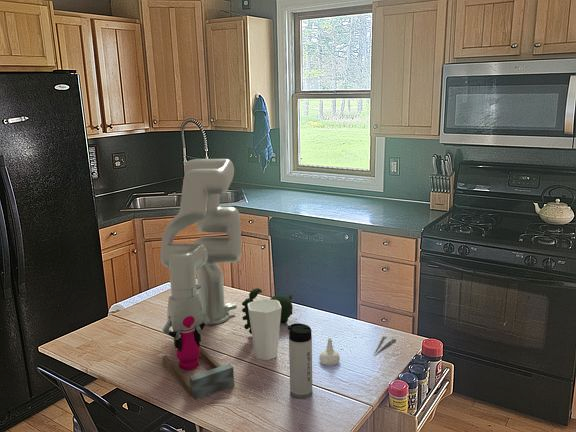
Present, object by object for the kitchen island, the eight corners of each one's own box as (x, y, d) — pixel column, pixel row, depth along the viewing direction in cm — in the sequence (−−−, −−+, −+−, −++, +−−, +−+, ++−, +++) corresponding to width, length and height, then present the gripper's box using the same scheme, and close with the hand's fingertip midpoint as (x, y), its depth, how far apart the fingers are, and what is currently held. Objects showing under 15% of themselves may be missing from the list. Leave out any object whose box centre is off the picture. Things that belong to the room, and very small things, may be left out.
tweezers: (383, 338, 175) (383, 332, 174) (396, 341, 172) (396, 336, 172) (362, 363, 161) (362, 358, 160) (376, 367, 158) (376, 361, 158)
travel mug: (288, 386, 146) (286, 321, 141) (310, 385, 146) (310, 320, 142) (289, 399, 139) (288, 331, 135) (313, 397, 140) (313, 330, 135)
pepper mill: (195, 372, 154) (191, 311, 150) (173, 370, 156) (168, 309, 151) (204, 360, 161) (200, 301, 157) (182, 358, 163) (178, 300, 158)
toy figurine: (260, 349, 171) (303, 317, 189) (254, 298, 165) (300, 270, 184) (239, 342, 177) (283, 311, 195) (233, 292, 171) (279, 266, 190)
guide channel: (199, 352, 166) (198, 335, 165) (234, 385, 147) (233, 367, 145) (163, 363, 160) (161, 345, 159) (193, 400, 140) (192, 380, 139)
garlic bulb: (325, 370, 155) (327, 347, 153) (315, 359, 160) (316, 337, 158) (343, 364, 158) (344, 342, 156) (332, 354, 163) (333, 332, 161)
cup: (287, 350, 167) (286, 301, 163) (276, 365, 157) (275, 313, 154) (255, 345, 170) (254, 297, 167) (243, 359, 161) (241, 309, 157)
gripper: (205, 281, 160) (208, 335, 165) (152, 294, 151) (156, 350, 155) (215, 289, 154) (218, 344, 158) (160, 302, 145) (165, 360, 149)
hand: (187, 346), depth 157 cm, fingers closed on pepper mill, 5 cm apart
